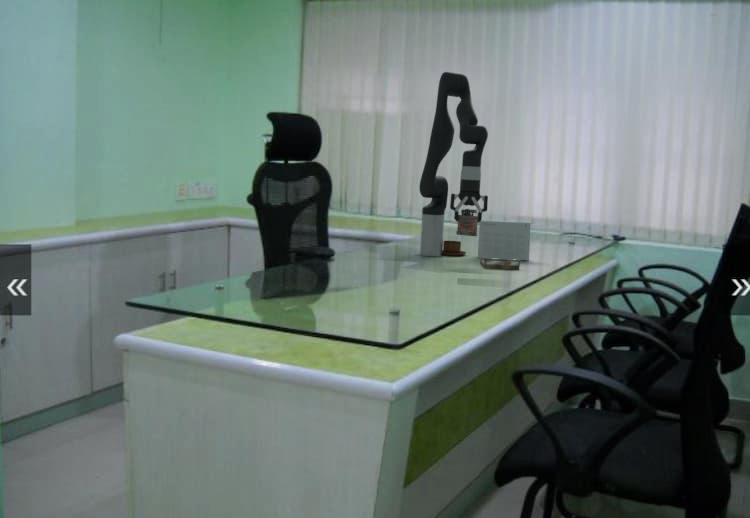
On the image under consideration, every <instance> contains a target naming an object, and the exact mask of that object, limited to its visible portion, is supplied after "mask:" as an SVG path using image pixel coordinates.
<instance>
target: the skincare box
mask: <svg viewBox="0 0 750 518" xmlns="http://www.w3.org/2000/svg"><path fill="white" fill-rule="evenodd" d="M478 224H479V227H478V245H477V251H478V252H477V258H478V259H485V258H497V259H498V258H499V259H516V260H526V261H525V262H529V261H530V242H531V224H532V223H531V222H523V221H522V222H521V221H520V222H519V221H501V220H499V221H498V220H481V221H480V223H478Z"/></svg>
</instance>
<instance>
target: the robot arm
mask: <svg viewBox="0 0 750 518" xmlns="http://www.w3.org/2000/svg"><path fill="white" fill-rule="evenodd" d="M471 93H472V92H471V87H470V82H469V79H468V77H467V75H465V74H463V73H457V72H452V71H451V72H450V71H444V72H442V74H440V78H439V81H438V89H437V98H436V105H435V106H436V107H435V113H434V118H433V124H432V128H431V132H430V133H431V134H430V137H429V138H430V139H429V145H428V149H427V154H426V159H425V163H424V167H423V171H422V174H421V176H420V181H419V193H420V195H421V197H423V198H426V199H431V201H430V203H429V204H427V205H424V206H423V207H422V211H421V212H422V214H421V231H420V245H419V247H420V248H419V256H425V257H442V256H443V255H442V250H443V243H444V227H445V212H446V209H447V206H448V196H449V182H448V180H447V178H446V177H445V176H442V175H437V173H438V170H439V167H440V164H441V162H442V161H443V160H444V159H445V157H446V156H447V154H449V152H450V150H451V148H452V146H453V143H454V142H453V140H454V138H455V127H454V126H455V125H454V122H453V120H452V118H451V115H450V112H449V109H448V100H449V99H448V97H454V98H459V99H460V101H459V103H458V104H457V107H456V110H455V114H456V118H457V121H458V124H459V135H458V138H459V140H460V141H461V142H462V143H463V144H466V145H467V144H468V145H475V146H474V147H473V149H469V150H465V151H463V153H462V161H461V162H462V164H461V169H460V182H459V193H451V195H450V204H449V205H450V207H449V209H450V210H452V211H454V217H453V218H454V220H455V221H456V222H458V215H460V214H459V213H460V212H459V210H460V209H462V208H461V207H462V206H466V207H467V206H471V207H475V208H476V211H477V216H478V221H477V224H480V221H483V219H482V217H483V213H486V212H487V211H488V202H489V201H488V200H489V199H488V198H489V197H488V195H486V194H485V195H481V194H480V193H481V180H482V179H481V178H482V170H481V169H482V157H483V152H484V148H485V146H486V143H487V141H488V136H489V133H488V128H486V126H484V125H478V123H479V119H478V116H477V114H476V112H475V109H474V106H473V101H472V95H471ZM457 199H459V201H460V202H459V203H458V205H456V207H455V200H457ZM480 200H482V202H483V208H482V207H481V206H480V204H479V201H480Z"/></svg>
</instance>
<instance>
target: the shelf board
mask: <svg viewBox="0 0 750 518" xmlns="http://www.w3.org/2000/svg"><path fill="white" fill-rule="evenodd" d="M520 262H521V261H520V260H513V259H492V258H484V259H482V260H481V259H480V261H479V264H480V265H481V266H482V267H483V268H484V269H494V270H495V269H497V270H498V269H499V270H517V271H518V270H520V264H521V263H520Z"/></svg>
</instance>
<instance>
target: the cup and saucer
mask: <svg viewBox="0 0 750 518" xmlns="http://www.w3.org/2000/svg"><path fill="white" fill-rule="evenodd" d="M461 247H462V242H461V241H457V240H443V248H442V256H449V257H462V256H465V255H466V253H467V252H466V251H463V250H461Z"/></svg>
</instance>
